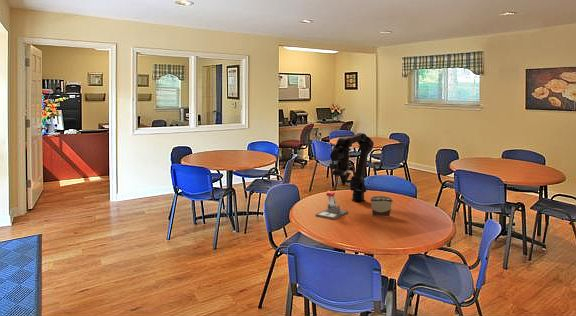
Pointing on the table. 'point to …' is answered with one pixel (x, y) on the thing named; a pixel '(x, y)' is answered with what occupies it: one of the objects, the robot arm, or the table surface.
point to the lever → (331, 199)
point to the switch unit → (331, 213)
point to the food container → (381, 205)
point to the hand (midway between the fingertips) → (343, 185)
